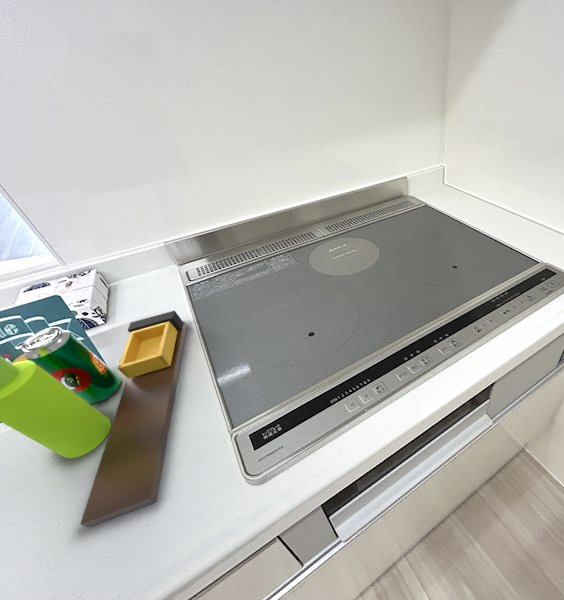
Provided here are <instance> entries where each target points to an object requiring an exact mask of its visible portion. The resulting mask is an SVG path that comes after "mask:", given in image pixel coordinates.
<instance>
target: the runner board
mask: <svg viewBox="0 0 564 600" xmlns="http://www.w3.org/2000/svg"><path fill="white" fill-rule="evenodd" d="M182 321H183V327H182V330H179V331H178V332H177V337H176V342H175V347H174V352H173V357H172V361H171V366H169V367H165V368H162V369H159V370H155V371H152V372H149V373H146V374H142V375H139V376H136V377H132V378H129V379H128V378H127V377H126V380H125V384H124V386H123V390H122V393H121V396H120V399H119V403H118V406H117V408H116V412H115V414H114V418H113V421H112V423H111V428H110V431H109V433H108V435H107V436H108V437H107V440H106V443H105V446H104V449H103V452H102V455H101V459H100V462H99V465H98V468H97V470H96V474H95V477H94V480H93V483H92V487H91V490H90V493H89V496H88V498H87V502H86V505H85V508H84V511H83V512H84V513H83V514H82V518H81V522H80V525H81V526H84V527H86V528H90V527H93V526H95V525H98V524H101V523H103V522H106V521H108V520H111V519H114V518H117V517H119V516H122V515H124V514H127V513H129V512H132V511H136V510H138V509H141V508H142V507H145V506H148V505H150V504H153V503H155V502H156V501H157V496H158V491H159V487H160V480H161V475H162V470H163V469H162V468H163V464H164V459H165V452H166V447H167V442H168V441H167V440H168V437H169V430H170V423H171V418H172V413H173V407H174V402H175V396H176V390H177V385H178V380H179V375H180V367H181V363H182V358H183V357H182V356H183V350H184V346H185V342H186V341H185V340H186V335H187V329H188V324H187V323H186V321H185V320H182Z"/></svg>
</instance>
